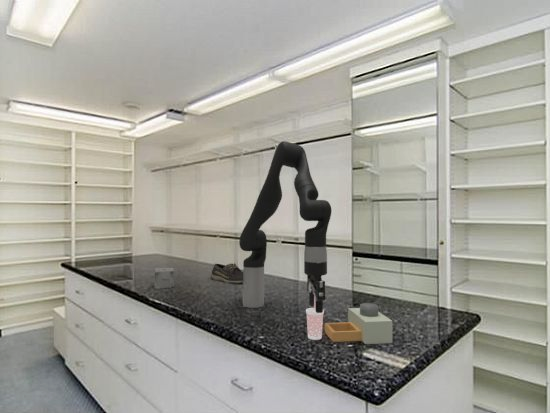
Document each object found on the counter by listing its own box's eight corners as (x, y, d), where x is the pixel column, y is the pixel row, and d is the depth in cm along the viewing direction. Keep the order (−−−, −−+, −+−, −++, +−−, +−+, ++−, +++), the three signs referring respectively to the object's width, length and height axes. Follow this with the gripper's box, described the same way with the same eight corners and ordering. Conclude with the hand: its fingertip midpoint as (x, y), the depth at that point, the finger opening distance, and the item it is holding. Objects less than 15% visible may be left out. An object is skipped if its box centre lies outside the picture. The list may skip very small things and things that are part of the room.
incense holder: (154, 289, 188) (154, 270, 188) (154, 286, 196) (154, 267, 196) (173, 288, 191) (174, 269, 191) (173, 285, 199) (173, 266, 199)
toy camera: (335, 345, 111) (336, 313, 112) (322, 328, 127) (322, 300, 127) (392, 343, 114) (392, 311, 114) (371, 326, 130) (372, 299, 130)
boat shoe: (244, 286, 199) (244, 266, 200) (205, 280, 215) (205, 262, 215) (255, 282, 209) (255, 264, 209) (217, 277, 224) (217, 260, 224)
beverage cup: (307, 333, 122) (307, 292, 123) (325, 335, 121) (325, 293, 121) (303, 339, 117) (303, 296, 117) (322, 341, 115) (322, 297, 115)
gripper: (300, 257, 126) (300, 304, 125) (309, 263, 111) (309, 315, 111) (320, 257, 127) (320, 303, 126) (333, 262, 113) (333, 314, 112)
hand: (315, 308), depth 119 cm, fingers open, 8 cm apart
